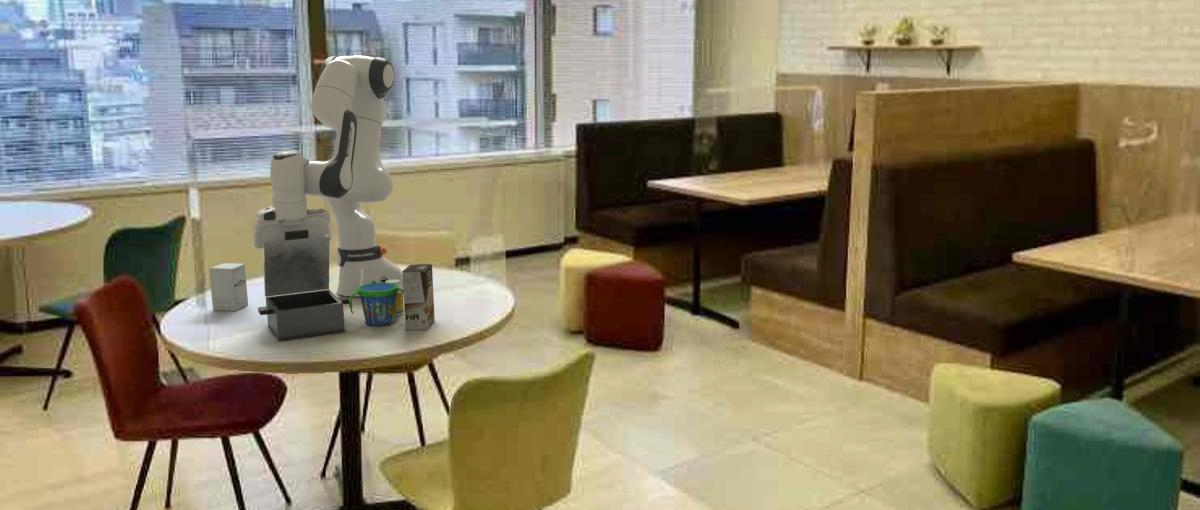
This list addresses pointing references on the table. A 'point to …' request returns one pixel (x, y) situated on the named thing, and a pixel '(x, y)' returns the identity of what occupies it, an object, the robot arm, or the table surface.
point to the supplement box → (228, 286)
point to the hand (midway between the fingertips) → (293, 261)
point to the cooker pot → (305, 314)
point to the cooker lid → (296, 263)
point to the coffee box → (418, 296)
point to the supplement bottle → (398, 298)
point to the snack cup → (377, 302)
